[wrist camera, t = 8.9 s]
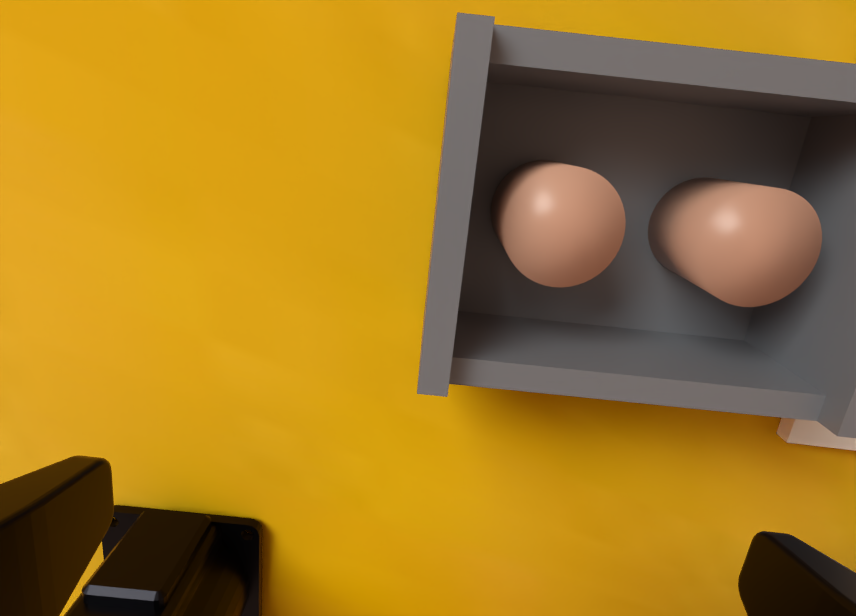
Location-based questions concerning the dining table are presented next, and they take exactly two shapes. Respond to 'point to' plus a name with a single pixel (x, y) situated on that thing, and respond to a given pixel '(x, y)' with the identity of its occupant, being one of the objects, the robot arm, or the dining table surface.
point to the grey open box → (645, 225)
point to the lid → (812, 434)
